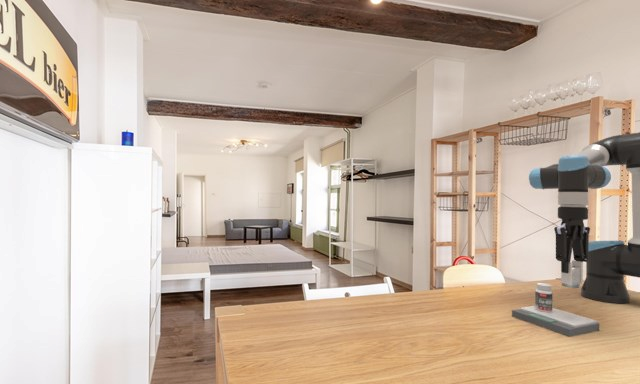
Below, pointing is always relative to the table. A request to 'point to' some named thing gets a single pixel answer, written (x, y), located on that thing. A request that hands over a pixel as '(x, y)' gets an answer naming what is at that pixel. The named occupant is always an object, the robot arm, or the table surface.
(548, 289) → the pill bottle
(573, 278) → the cylinder
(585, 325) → the kitchen scale
